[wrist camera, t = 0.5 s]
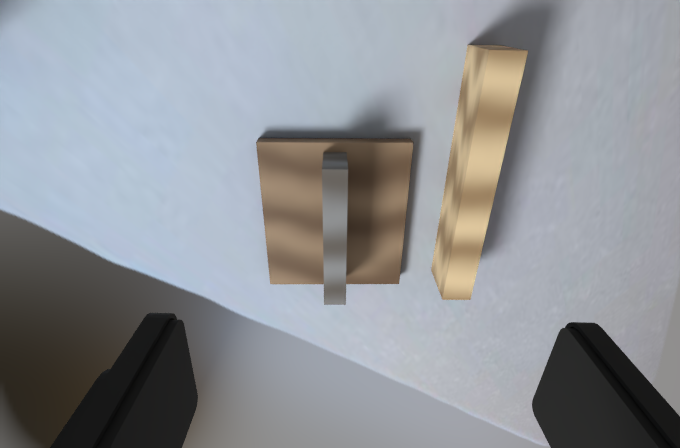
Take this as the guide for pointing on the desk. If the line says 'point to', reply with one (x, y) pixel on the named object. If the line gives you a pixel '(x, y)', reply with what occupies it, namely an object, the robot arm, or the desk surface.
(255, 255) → the desk surface
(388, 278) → the stand
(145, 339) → the robot arm
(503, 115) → the oak batten
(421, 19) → the desk surface
